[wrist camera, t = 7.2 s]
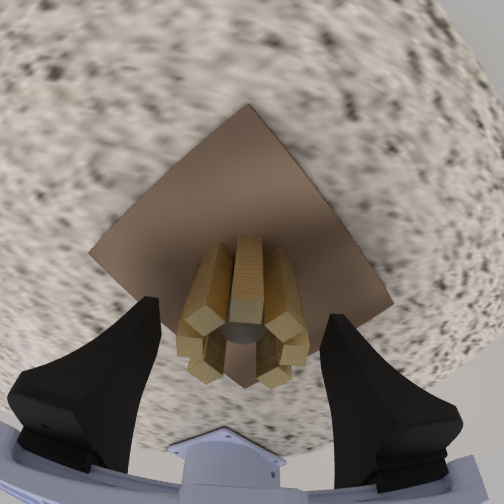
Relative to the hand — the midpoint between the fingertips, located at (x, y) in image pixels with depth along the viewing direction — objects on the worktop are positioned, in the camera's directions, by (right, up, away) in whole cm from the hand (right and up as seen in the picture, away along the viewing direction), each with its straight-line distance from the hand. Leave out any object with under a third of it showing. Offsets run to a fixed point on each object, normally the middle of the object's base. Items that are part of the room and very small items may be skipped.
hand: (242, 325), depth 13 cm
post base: (0, +2, +4) cm, 5 cm away
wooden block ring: (0, +2, +3) cm, 3 cm away
